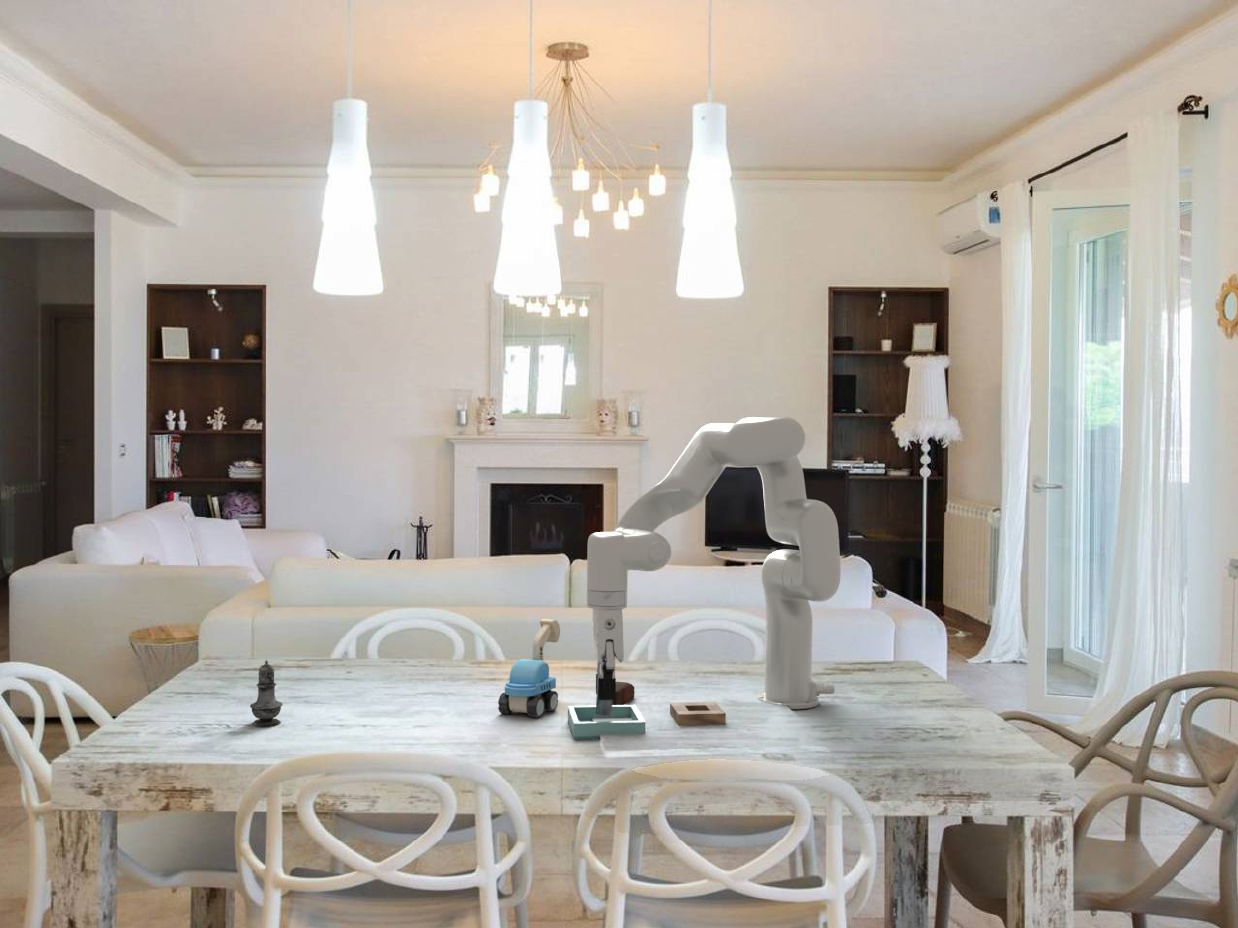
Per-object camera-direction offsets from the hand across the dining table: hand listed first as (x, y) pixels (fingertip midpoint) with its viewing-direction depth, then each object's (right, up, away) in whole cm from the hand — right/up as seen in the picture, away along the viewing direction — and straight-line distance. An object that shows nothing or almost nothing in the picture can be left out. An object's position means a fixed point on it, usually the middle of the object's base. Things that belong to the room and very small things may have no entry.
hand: (605, 696), depth 216 cm
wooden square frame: (+17, -6, +6) cm, 19 cm away
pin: (0, -3, 0) cm, 3 cm away
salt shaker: (-64, -6, +2) cm, 64 cm away
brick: (+2, -6, +18) cm, 19 cm away
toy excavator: (-14, -6, +16) cm, 22 cm away
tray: (0, -6, 0) cm, 6 cm away
